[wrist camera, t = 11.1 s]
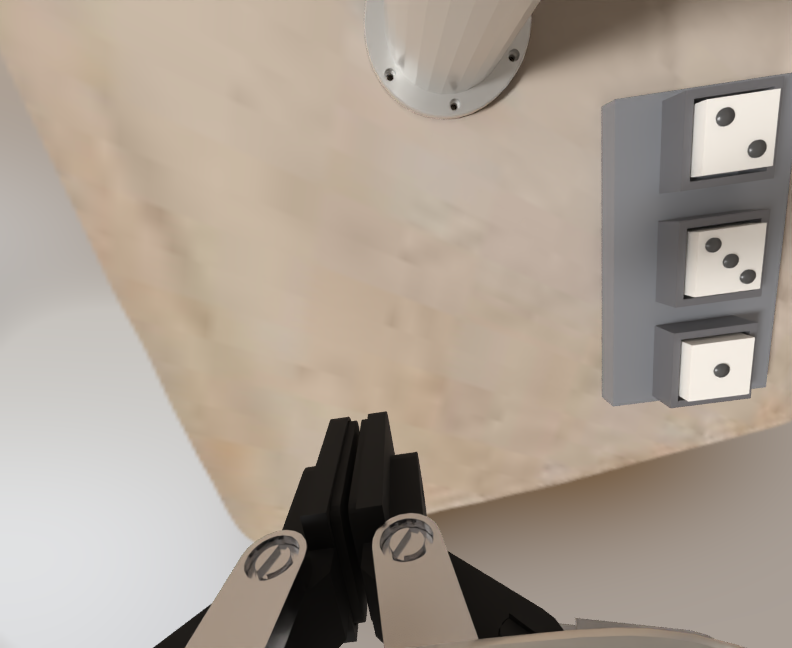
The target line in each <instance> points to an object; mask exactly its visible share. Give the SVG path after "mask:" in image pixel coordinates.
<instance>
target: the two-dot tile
mask: <svg viewBox="0 0 792 648" xmlns="http://www.w3.org/2000/svg"><path fill="white" fill-rule="evenodd" d="M780 92H781V88H780V89H773V90H767V91H760V92H753V93H747V94H740V95H733V96H727V97H720V98H713V99H707V100H704V101H701V102H699V103H696V104H694V110H693V129H692V147H691V166H690V178H691V177H698V176H705V175H712V174H719V173H726V172H733V171H740V170H747V169H754V168H761V167H768V166H773V159H774V149H775V140H776V130H777V120H778V111H779V101H780Z"/></svg>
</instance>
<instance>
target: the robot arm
mask: <svg viewBox="0 0 792 648" xmlns="http://www.w3.org/2000/svg"><path fill="white" fill-rule="evenodd" d="M540 1H541V0H366V3H365V12H364V33H365V42H366V47H367V52H368V55H369V58H370V62H371V65H372V68H373V70H374V72H375V74H376V76H377V77H378V79H379V81H380V83H381V84H382V86H383V87H384V88H385V89H386V91H387V92H388V93H389V95H390V96H391V97H393V98H394V99H395V100H396V101H397V102H398V103H399V104H400V105H402V106H403V107H405V108H407V109H409V110H410V111H412V112H414V113H416V114H419V115H422V116H425V117H428V118H435V119H453V118H460V117H463V116H466V115H469V114H472V113H474V112H476V111H478V110H480V109H482V108H483V107H485V106H487V105H488V104H489V103H490V102H492V101H493V100H494V99H495V98H496V97H498V96H499V95H500V93H501V92H502V91H503V90H504V89H505V88H506V87H507V86H508V84H509V83H510V81H511V80H512V78H513V77H514V76H515V74H516V73H517V71H518V69H519V67H520V65H521V63H522V61H523V59H524V56H525V53H526V50H527V46H528V43H529V39H530V32H531V24H532V13H533V11H534V10H535V8H536V7H537V5H538V4H539V2H540ZM508 57H512V58H513V60H514V61H513V62H511V61H510V60H509V58H508ZM389 75H391V76H393V80H392V81H388V80H387V77H388V76H389ZM453 104H454V105H456V107H457V109H456V110H452V109H451V105H453ZM367 603H368V607H369V612H370V616H371V620H372V621H373V625H374V630H375V634H376V637H377V638H378V639H379V640H380V641H381V642H383V643H384V648H745V647H742V646H739V645H736V644H732V643H728V642H724V641H720V640H716V639H714V638H712V637H710V636H708V635H706V634H702V633H698V632H694V631H690V630H683V629H673V628H664V627H655V626H645V625H636V624H626V623H617V622H607V621H599V620H589V619H580V618H575V625H569V624H559V623H558V622H557V621H556V619H555V618H554V617H552V616H551V615H550V614H549V613H547V612H546V611H545V610H543V609H542V608H540V607H539V606H537V605H535V604H534V603H532V602H530V601H529V600H527V599H526V598H524V597H522V596H521V595H519V594H517V593H515V592H514V591H512V590H510V589H509V588H507V587H506V586H504V585H503V584H501V583H499V582H498V581H496V580H494V579H493V578H491V577H489V576H488V575H486V574H484V573H483V572H481V571H480V570H478V569H476V568H475V567H473V566H471V565H470V564H468V563H466V562H465V561H463V560H462V559H460V558H458V557H457V556H455V555H453V554H451V553H450V552H448V551H447V549H446V546H445V543H444V540H443V537H442V534H441V531H440V529H439V528H438V526H437V524H436V523H435V522H434V521H433V520H431V519H430V518H429V517H427V515H426V506H425V498H424V491H423V484H422V477H421V471H420V465H419V459H418V453H417V452H413V453H406V454H399V455H395V453H394V447H393V442H392V436H391V431H390V425H389V419H388V415H387V411H386V412H379V413H372V414H368V419H365V420H362V421H361V428H360V431H359V426H358V422H357V421H351V419H350V417H345V418H338V419H331V420H330V423H329V426H328V429H327V432H326V435H325V438H324V441H323V445H322V448H321V451H320V454H319V457H318V460H317V463H316V466H314V467H307V468H305V470H304V471H303V474H302V477H301V480H300V482H299V485H298V488H297V491H296V493H295V496H294V499H293V502H292V505H291V507H290V510H289V513H288V516H287V518H286V521H285V524H284V527H283V529H282V531H276V532H273V533H270V534H268V535H265V536H264V537H262V538H260V539H259V540H257V541H256V542H254V543H253V544H252V545H251V546H250V547H248V548H247V550H246V551H245V552H244V554H243V555H242V556H241V558H240V559H239V561H238V563H237V564H236V566H235V567H234V569H233V570H232V572H231V574H230V575H229V577H228V579H227V580H226V582H225V583H224V585H223V587H222V589H221V590H220V592H219V593H218V595H217V597H216V598H215V600H214V601H213V603H212V604H211V605H209V606H208V607H207V608H205V609H204V610H203V611H201V612H200V613H199V614H197V615H196V616H195V617H193V618H192V619H191V620H190V621H188V622H187V623H185V624H184V625H183V626H181V627H180V628H179V629H177V630H176V631H175V632H173V633H172V634H171V635H169V636H168V637H167V638H165V639H164V640H163V641H162V642H160V643H159V644H158V645H156V646H155V647H154V648H339V647H340V646H341V645H342V644H343V643H347V642H355V641H357V632H358V623H362V622H365V621H366V616H367Z"/></svg>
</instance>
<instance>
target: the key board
mask: <svg viewBox="0 0 792 648" xmlns="http://www.w3.org/2000/svg"><path fill="white" fill-rule="evenodd" d="M780 88H781V92H780V101H779V111H778V120H777V130H776V140H775V149H774V159H773V166H768V167H761V168H754V169H747V170H740V171H733V172H726V173H719V174H712V175H705V176H698V177H691V178H690V166H691V147H692V129H693V110H694V104H696V103H699V102H701V101H704V100H707V99H713V98H720V97H727V96H733V95H740V94H747V93H753V92H760V91H767V90H773V89H780ZM791 166H792V73H787V74H780V75H774V76H767V77H761V78H754V79H747V80H741V81H734V82H727V83H721V84H714V85H708V86H701V87H694V88H688V89H681V90H674V91H668V92H661V93H654V94H648V95H641V96H635V97H628V98H621V99H615V100H613V101H611V102H609V103H608V104H606V105H604V106H602V397H603V398H604V399H605V400H606V401H607V402H609V403H610V404H611V405H612V406H620V405H628V404H636V403H644V402H652V401H661V402H662V403H664V404H665V405H667V406H668V407H670V408H676V407H684V406H692V405H700V404H708V403H716V402H724V401H732V400H740V399H748V398H751V389H755V388H762V387H766V381H767V372H768V363H769V355H770V346H771V338H772V329H773V320H774V312H775V303H776V295H777V286H778V277H779V269H780V260H781V252H782V243H783V234H784V226H785V217H786V209H787V200H788V191H789V183H790V174H791ZM733 222H739V223H767V227H766V236H765V246H764V255H763V265H762V274H761V284H760V289H753V290H746V291H738V292H731V293H724V294H716V295H709V296H701V297H691V296H688V295H684V278H685V260H686V241H687V229H690V228H697V227H704V226H711V225H718V224H726V223H733ZM736 332H740V333H743V334H746V335H749V336H752V337H755V341H754V351H753V360H752V370H751V380H750V389H749V394H745V395H737V396H729V397H721V398H713V399H705V400H697V401H689V402H688V401H687V400H685V399H683V398H682V397H680V396H678V390H679V372H680V353H681V340H682V339H690V338H697V337H705V336H713V335H720V334H728V333H736Z"/></svg>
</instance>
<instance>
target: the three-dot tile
mask: <svg viewBox="0 0 792 648" xmlns="http://www.w3.org/2000/svg"><path fill="white" fill-rule="evenodd" d="M766 227H767V223H739V222H733V223H726V224H718V225H711V226H704V227H697V228H690V229H687V241H686V260H685V278H684V295H688V296H691V297H701V296H709V295H716V294H724V293H731V292H738V291H746V290H753V289H760V284H761V274H762V265H763V255H764V246H765V236H766Z"/></svg>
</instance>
